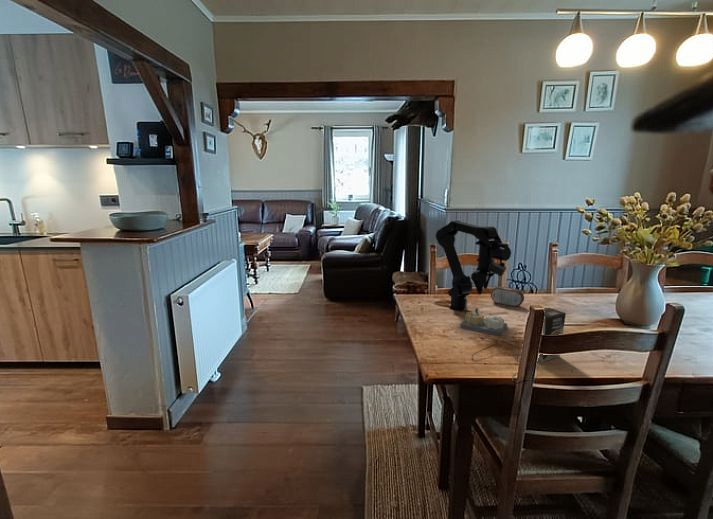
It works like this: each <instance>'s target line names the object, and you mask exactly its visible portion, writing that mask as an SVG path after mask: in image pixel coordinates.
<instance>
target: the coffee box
mask: <svg viewBox="0 0 713 519" xmlns="http://www.w3.org/2000/svg"><path fill="white" fill-rule="evenodd" d="M543 309H544V311H545V319H544V326H543V334H544V335H559V334H563V335H564V328H565V321H566V315H567V313H566V312H564V311H560V310H557V309H554V308H551V307H548V308H543ZM560 356H561V354H560V355H543V354H540V355H539V360H538V361H540V362H541V363H544V362H546V361H550V360H554V359H556V358H560Z"/></svg>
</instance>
